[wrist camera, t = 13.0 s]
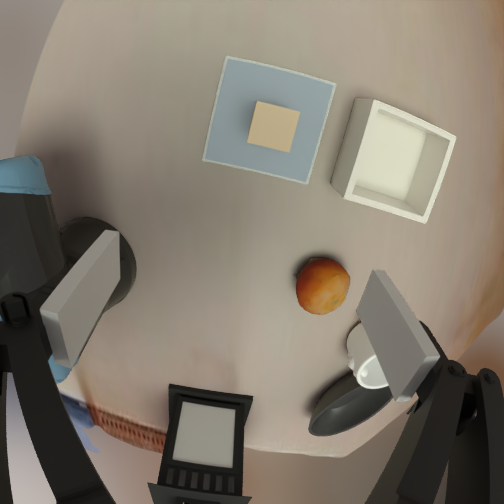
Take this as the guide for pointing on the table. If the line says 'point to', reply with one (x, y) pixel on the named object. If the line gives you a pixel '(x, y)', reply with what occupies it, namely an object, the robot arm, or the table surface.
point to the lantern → (203, 448)
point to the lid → (268, 120)
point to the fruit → (322, 286)
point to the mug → (364, 360)
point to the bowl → (346, 406)
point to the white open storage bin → (391, 160)
